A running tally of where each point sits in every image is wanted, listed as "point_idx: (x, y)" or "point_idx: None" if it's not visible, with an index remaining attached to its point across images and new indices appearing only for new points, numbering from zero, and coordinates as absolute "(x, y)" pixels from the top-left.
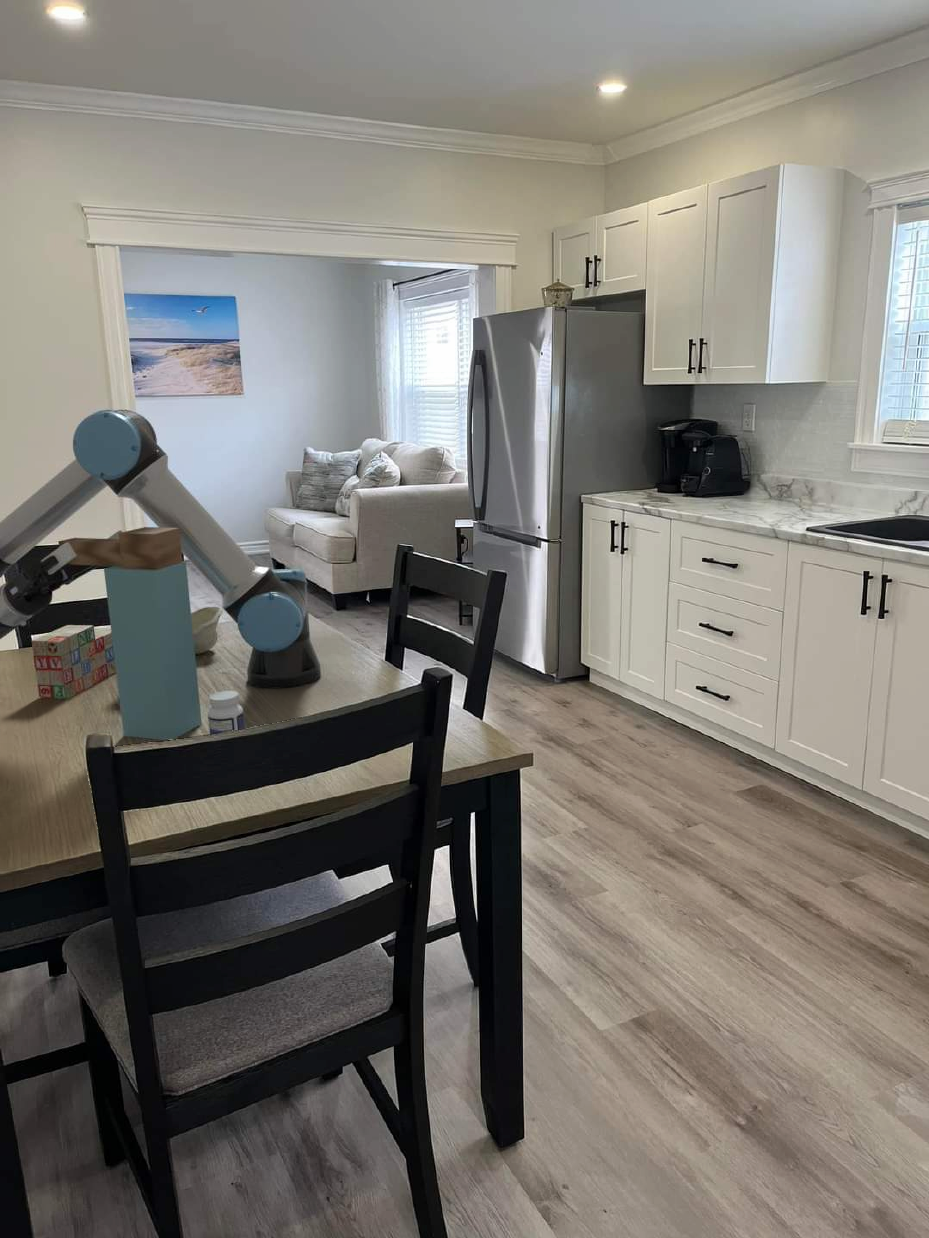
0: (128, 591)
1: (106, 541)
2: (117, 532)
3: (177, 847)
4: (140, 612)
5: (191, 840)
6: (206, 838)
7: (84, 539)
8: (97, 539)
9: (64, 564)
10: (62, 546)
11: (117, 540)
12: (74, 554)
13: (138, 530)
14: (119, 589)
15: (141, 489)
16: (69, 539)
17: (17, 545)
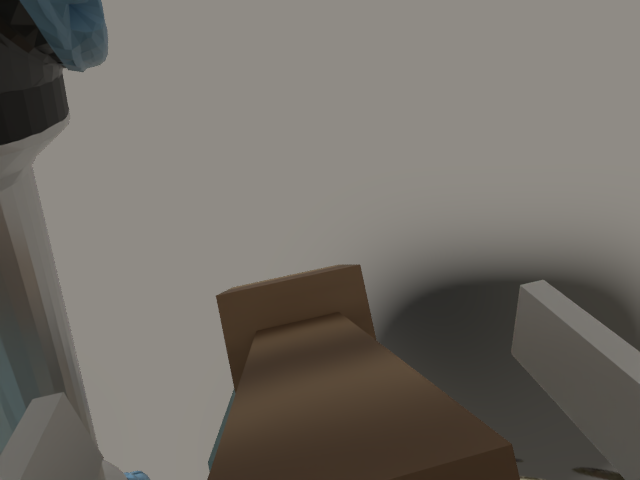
0: None
1: (324, 336)
2: (58, 408)
3: (612, 474)
4: None
5: (593, 475)
6: (577, 471)
7: (292, 404)
8: (274, 374)
9: (591, 430)
10: (565, 303)
11: (285, 339)
12: (520, 343)
13: (293, 277)
14: None
15: (28, 171)
16: (337, 469)
17: None
